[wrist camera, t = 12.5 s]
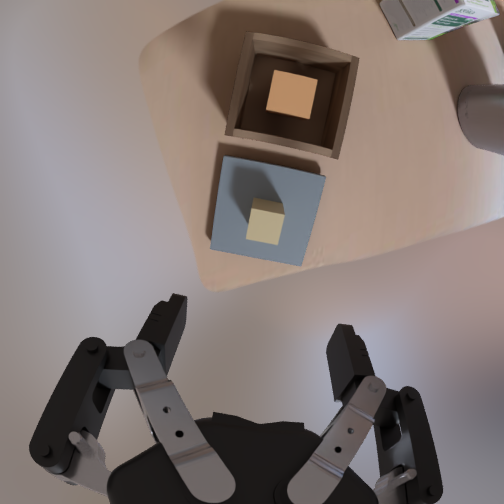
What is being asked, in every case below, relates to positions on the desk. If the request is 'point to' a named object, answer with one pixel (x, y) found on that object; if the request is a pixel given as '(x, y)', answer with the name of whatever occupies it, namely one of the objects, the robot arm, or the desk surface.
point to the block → (291, 95)
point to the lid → (265, 210)
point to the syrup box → (434, 16)
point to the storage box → (300, 63)
